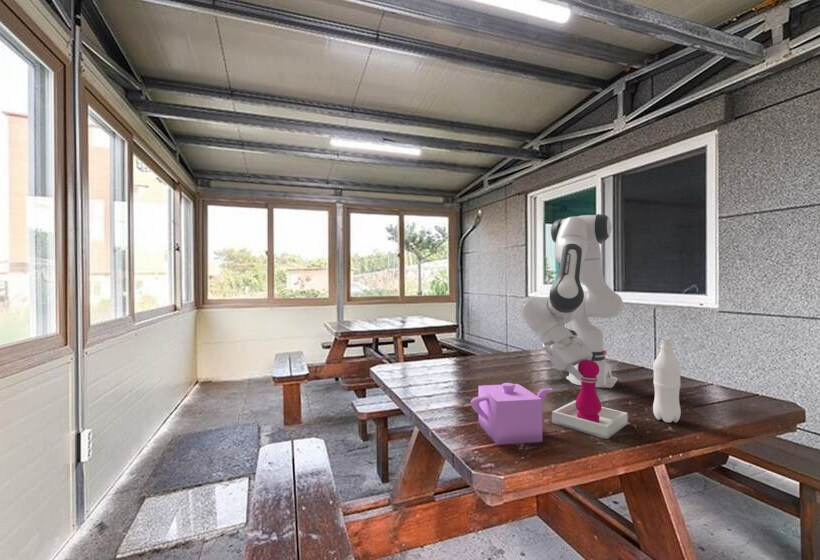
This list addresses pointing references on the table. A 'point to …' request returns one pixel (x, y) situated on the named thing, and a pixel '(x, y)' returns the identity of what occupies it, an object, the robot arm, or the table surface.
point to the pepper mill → (588, 391)
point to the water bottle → (666, 384)
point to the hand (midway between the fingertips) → (587, 375)
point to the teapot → (510, 413)
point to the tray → (604, 429)
